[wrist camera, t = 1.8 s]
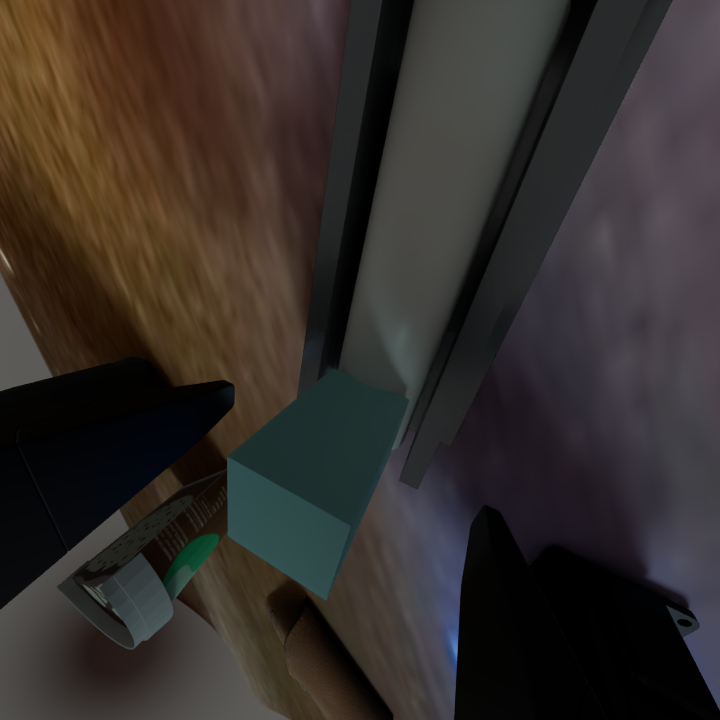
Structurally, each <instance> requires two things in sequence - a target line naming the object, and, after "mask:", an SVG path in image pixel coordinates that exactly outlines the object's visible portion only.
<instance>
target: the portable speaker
mask: <svg viewBox="0 0 720 720" xmlns="http://www.w3.org/2000/svg"><path fill="white" fill-rule="evenodd" d="M151 369H152V368H151V366H150V364H149V363H148V361H147V360H143V359H138V358H134V357H130V358H127V359H124V360H120V361H117V362H114V363H111V364H110V363H107V364H104V365H100V366H96V367H92V368H88V369H84V370H80V371H76V372H72V373H68V374H64V375H60V376H56V377H52V378H49V379H44V380H41V381H37V382H33V383H29V384H25V385H21V386H17V387H13V388H10V389H6V390H3V391H0V410H6V409H15V408H25V407H35V406H44V405H53V404H61V403H69V402H76V401H83V400H90V399H97V398H98V399H100V398H104V397H111V396H118V395H124V394H131V393H138V392H145V391H152V390H158V389H160V388H159V386H158V385H157V384H156V383H155V381H154V380H153V379H152V378H151V376H150V375H149V372H150V371H151Z"/></svg>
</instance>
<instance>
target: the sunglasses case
mask: <svg viewBox="0 0 720 720" xmlns="http://www.w3.org/2000/svg"><path fill="white" fill-rule="evenodd" d="M264 599H265V604H266V608H267V612H268V615H269V617H270V619H271V622H272V624H273V626H274V628H275V631H276V632H277V634H278V636H279V638H280V640H281V642H282V643H283V645H284V653H285V658H286V663H287V668H288V671H289V674H290V675H291V676H292V677H294V678H295V679H296V680H297V681H298V682H299V683H300V685H301V687H302V688H303V689H304V690H305V691H308V693H309V694H310V696H311V697H312V699H313V700H314V702H315V703H316V705H317V707H318V708H319V709H320V711H321V713H322V714H323V716H324V718H325V719H326V720H393V718H392V717H391V716H390V715H388V714H387V712H386V711H385V710H384V709H383V708H382V707H381V706H380V705H379V703H378V702H377V700H375V699H373V698H372V696H371V694H370V693H369V692H368V691H367V690H366V689H364V688H363V687H362V685H361V682H360V681H359V679H358V678H357V677H356V675H355V674H354V672H353V670H352V669H351V668H350V666H349V665H348V664H347V662H346V661H345V660H344V659H343V658H342V657H341V655H340V653H339V651H338V649H337V648H336V646H335V645H334V643H333V642H332V641H331V639H330V638H329V637H328V635H327V634H326V633H325V631H324V630H323V628H322V627H321V625H320V624H319V622H318V621H317V620H316V618H315V617H314V615H313V613H312V611H311V610H310V608H309V607H308V606H307V605H306V598H305V597H304V596H303V597H302V596H266V595H264Z"/></svg>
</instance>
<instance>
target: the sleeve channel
mask: <svg viewBox="0 0 720 720" xmlns="http://www.w3.org/2000/svg"><path fill="white" fill-rule="evenodd" d="M672 1H673V0H571V7H570V13H569V17H568V19H567V22H566V25H565V27H564V30H563V32H562V35H561V37H560V40H559V43H558V45H557V48H556V50H555V53H554V55H553V58H552V61H551V63H550V66H549V68H548V71H547V74H546V76H545V79H544V81H543V84H542V86H541V89H540V92H539V94H538V97H537V99H536V102H535V104H534V107H533V110H532V112H531V115H530V117H529V120H528V122H527V125H526V128H525V130H524V133H523V135H522V138H521V140H520V143H519V146H518V148H517V151H516V153H515V156H514V158H513V161H512V164H511V166H510V169H509V171H508V174H507V176H506V179H505V182H504V184H503V187H502V189H501V192H500V195H499V197H498V200H497V202H496V205H495V207H494V210H493V213H492V215H491V218H490V220H489V223H488V225H487V228H486V231H485V233H484V236H483V238H482V241H481V243H480V246H479V249H478V251H477V254H476V256H475V259H474V261H473V264H472V267H471V269H470V272H469V274H468V277H467V279H466V282H465V285H464V287H463V290H462V292H461V295H460V297H459V300H458V303H457V305H456V308H455V310H454V313H453V315H452V318H451V321H450V323H449V326H448V328H447V331H446V334H445V336H444V339H443V341H442V344H441V346H440V349H439V352H438V354H437V357H436V359H435V362H434V364H433V367H432V370H431V372H430V375H429V377H428V380H427V382H426V385H425V388H424V390H423V393H422V395H421V398H420V400H419V403H418V406H417V408H416V411H415V413H414V416H413V418H412V421H411V424H410V426H409V429H412V430H414V431H416V433H415V436H414V439H413V442H412V445H411V448H410V451H409V453H408V456H407V459H406V462H405V465H404V468H403V470H402V473H401V476H400V479H399V481H401V482H403V483H405V484H407V485H409V486H411V487H413V488H415V489H418V487H419V485H420V483H421V481H422V479H423V477H424V475H425V472H426V470H427V468H428V466H429V464H430V462H431V460H432V458H433V455H434V453H435V451H436V449H437V447H438V445H439V443H440V442H441V443H444V444H446V445H448V446H451V444H452V442H453V440H454V438H455V436H456V434H457V432H458V430H459V428H460V426H461V424H462V422H463V420H464V418H465V416H466V414H467V412H468V410H469V408H470V406H471V404H472V402H473V400H474V398H475V396H476V394H477V392H478V390H479V388H480V386H481V384H482V382H483V380H484V378H485V376H486V374H487V372H488V370H489V368H490V366H491V364H492V362H493V360H494V358H495V356H496V354H497V352H498V350H499V348H500V345H501V343H502V341H503V339H504V337H505V335H506V333H507V331H508V329H509V327H510V325H511V323H512V321H513V319H514V317H515V315H516V313H517V311H518V309H519V307H520V305H521V303H522V301H523V299H524V297H525V295H526V293H527V291H528V289H529V287H530V285H531V283H532V281H533V279H534V277H535V275H536V273H537V271H538V269H539V267H540V265H541V263H542V261H543V259H544V257H545V255H546V253H547V251H548V249H549V247H550V245H551V243H552V241H553V239H554V237H555V235H556V233H557V231H558V229H559V227H560V225H561V223H562V221H563V219H564V217H565V215H566V213H567V211H568V209H569V207H570V205H571V203H572V201H573V199H574V197H575V195H576V193H577V191H578V189H579V187H580V185H581V183H582V181H583V179H584V177H585V175H586V173H587V171H588V169H589V167H590V165H591V163H592V161H593V159H594V157H595V155H596V153H597V151H598V149H599V147H600V145H601V143H602V141H603V139H604V137H605V135H606V133H607V131H608V129H609V127H610V125H611V123H612V121H613V119H614V117H615V115H616V113H617V111H618V109H619V107H620V105H621V103H622V101H623V99H624V97H625V95H626V93H627V91H628V89H629V87H630V85H631V83H632V81H633V79H634V77H635V75H636V73H637V71H638V69H639V67H640V65H641V63H642V61H643V59H644V57H645V55H646V53H647V51H648V49H649V47H650V45H651V43H652V41H653V39H654V37H655V35H656V33H657V31H658V29H659V27H660V25H661V23H662V21H663V19H664V17H665V15H666V13H667V11H668V9H669V7H670V5H671V3H672ZM413 5H414V0H351V6H350V13H349V20H348V28H347V35H346V42H345V50H344V57H343V64H342V72H341V79H340V86H339V94H338V101H337V108H336V116H335V123H334V130H333V138H332V145H331V152H330V160H329V167H328V174H327V182H326V189H325V196H324V204H323V211H322V218H321V226H320V233H319V240H318V248H317V255H316V262H315V270H314V277H313V285H312V292H311V299H310V307H309V314H308V321H307V329H306V336H305V343H304V351H303V358H302V365H301V373H300V380H299V387H298V395H297V398H298V397H299V396H301V395H302V394H303V393H304V392H305V391H307V390H308V389H309V388H310V387H311V386H313V385H314V384H315V383H316V382H317V381H319V380H320V379H321V378H322V377H323V376H325V375H326V374H327V373H328V372H329V371H331V370H332V369H333V368H334V369H336V370H338V366H339V361H340V356H341V352H342V347H343V342H344V337H345V332H346V328H347V323H348V318H349V313H350V308H351V303H352V299H353V294H354V289H355V284H356V279H357V275H358V270H359V265H360V260H361V255H362V250H363V246H364V241H365V236H366V231H367V226H368V222H369V217H370V212H371V207H372V202H373V197H374V193H375V188H376V183H377V178H378V173H379V168H380V164H381V159H382V154H383V149H384V144H385V140H386V135H387V130H388V125H389V120H390V115H391V111H392V106H393V101H394V96H395V91H396V87H397V82H398V77H399V72H400V67H401V62H402V58H403V53H404V48H405V43H406V38H407V34H408V29H409V24H410V19H411V14H412V9H413Z"/></svg>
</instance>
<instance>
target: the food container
mask: <svg viewBox="0 0 720 720" xmlns="http://www.w3.org/2000/svg"><path fill="white" fill-rule="evenodd" d="M227 532H228V495H227V469H225V470H222V471H220V472H218V473H215V474H213V475H210V476H208V477H205V478H203V479H200V480H198V481H195V482H193V483H190V484H188V485H186V486H183V487H182V488H181V489H180V490H178V491H177V492H176V493H175V494H173V495H172V496H171V497H169V498H168V499H167V500H166V501H164V502H163V503H162V504H161V505H159V506H158V507H157V508H156V509H154V510H153V511H152V512H151V513H149V514H148V515H147V516H145V517H144V518H143V519H142V520H140V521H139V522H138V523H137V524H135V525H134V526H133V527H132V528H130V529H129V530H128V531H127V532H125V533H124V534H123V535H121V536H120V537H119V538H118V539H116V540H115V541H114V542H113V543H111V544H110V545H109V546H108V547H106V548H105V549H104V550H103V551H102V552H100V553H99V554H97V555H96V556H95V557H94V558H93V559H91V560H90V561H87V562H86V563H85V564H83V565H82V566H81V567H80V568H78V569H77V570H76V571H75V572H74V573H73V574H71V575H70V576H69V577H68V578H67V579H66V580H65V581H63V582H62V583H61V584H60V585H58V586H57V588H58V589H59V590H60V591H61V592H62V594H63V595H64V596H65V597H66V598H67V599H68V600H69V601H70V602H71V603H72V604H73V605H74V606H75V607H76V608H77V609H78V610H79V611H80V612H81V613H82V614H83V615H84V616H85V617H86V618H87V619H88V620H89V621H90V622H91V623H92V624H93V625H95V626H96V627H97V628H98V629H99V630H100V631H102V632H103V633H104V634H105V635H107V636H108V637H109V638H110V639H112V640H113V641H115V642H116V643H118V644H119V645H121V646H123V647H125V648H127V649H134V648H135V647H136V646H137V645H138V644H139V643H140V642H141V641H142V640H148V639H149V638H150V637H151V636H152V635H153V634H154V633H155V632H156V631H158V630H159V629H160V628H161V627H162V626H163V625H164V624H165V623H166V622H168V621H169V620H170V619H171V617H172V616H173V607H172V602H173V600H174V599H175V598H176V597H177V595H178V594H179V593H180V592H181V590H182V589H183V588H184V586H185V585H186V584H187V583H188V581H189V580H190V579H191V578H192V576H193V575H194V574H195V572H196V571H197V570H198V569H199V567H200V566H201V565H202V563H203V562H204V561H205V560H206V558H207V557H208V556H209V555H210V553H211V552H212V551H213V549H214V548H215V547H216V546H217V544H218V543H219V542H220V540H221V539H222V538H223V537H224V535H225V534H226V533H227Z"/></svg>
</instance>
